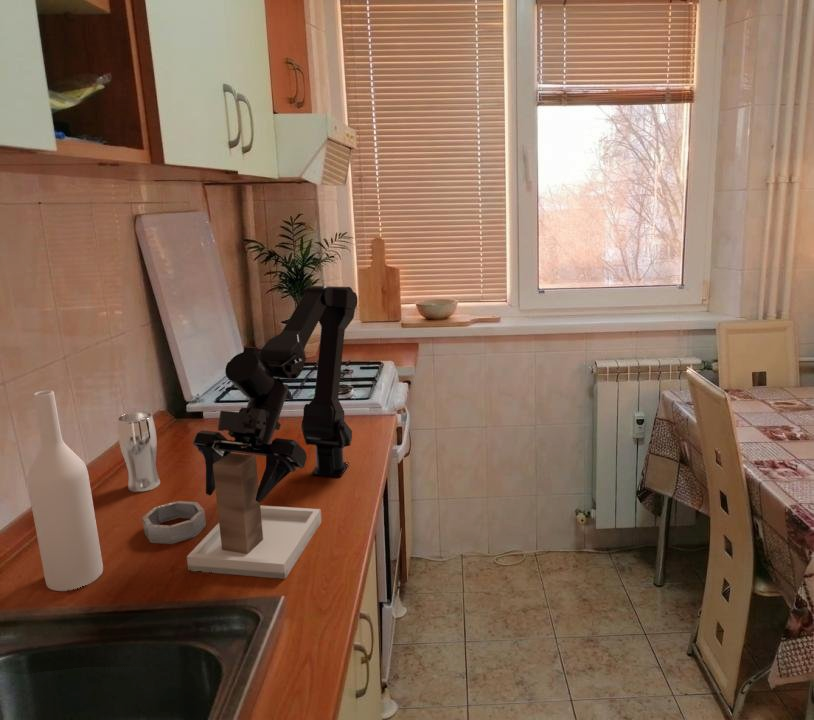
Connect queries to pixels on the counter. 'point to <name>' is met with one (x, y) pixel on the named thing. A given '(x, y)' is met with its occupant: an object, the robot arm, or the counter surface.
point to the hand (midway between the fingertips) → (232, 498)
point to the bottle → (62, 506)
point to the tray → (261, 545)
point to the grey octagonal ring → (175, 531)
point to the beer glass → (139, 449)
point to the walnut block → (238, 502)
